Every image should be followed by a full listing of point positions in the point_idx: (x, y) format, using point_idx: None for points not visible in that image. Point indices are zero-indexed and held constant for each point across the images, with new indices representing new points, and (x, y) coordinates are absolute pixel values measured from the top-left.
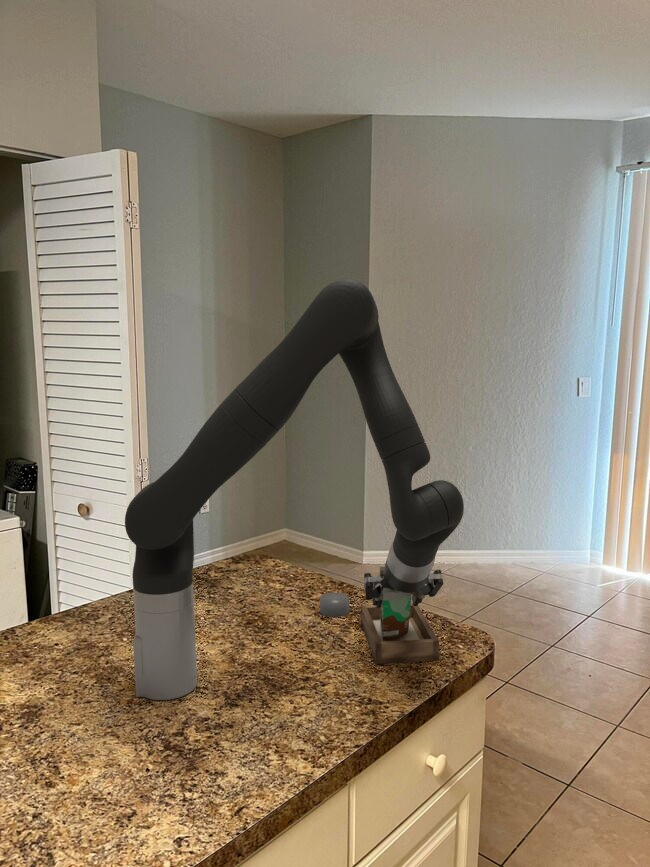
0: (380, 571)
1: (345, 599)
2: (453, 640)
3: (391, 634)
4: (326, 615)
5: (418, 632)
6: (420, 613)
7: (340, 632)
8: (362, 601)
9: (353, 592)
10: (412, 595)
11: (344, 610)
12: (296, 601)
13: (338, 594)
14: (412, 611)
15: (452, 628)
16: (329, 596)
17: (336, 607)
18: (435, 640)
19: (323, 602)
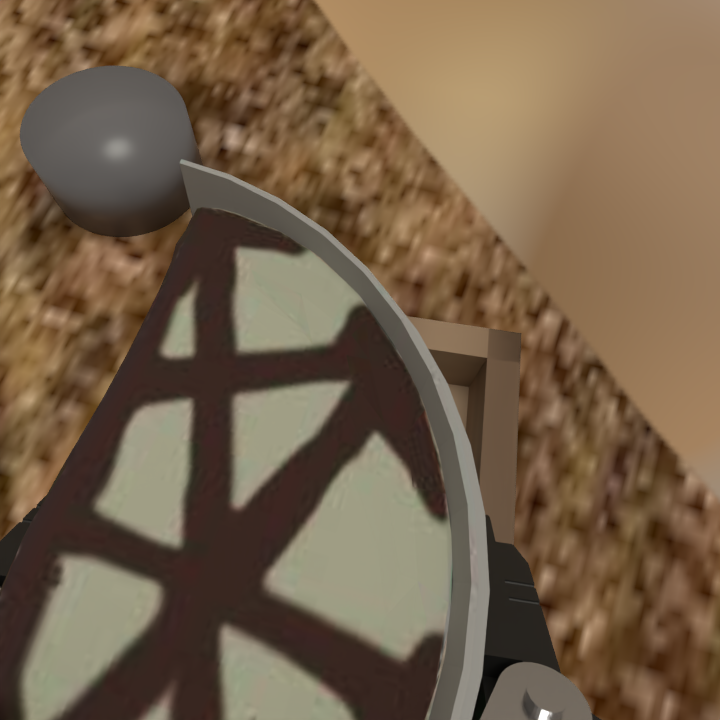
0: (196, 209)
1: (152, 155)
2: (631, 696)
3: None
4: (64, 212)
5: None
6: (500, 493)
7: (40, 406)
8: (301, 121)
9: (297, 37)
10: None
11: (146, 213)
12: (12, 50)
13: (145, 94)
14: (476, 372)
15: (662, 527)
16: (88, 103)
17: (88, 203)
18: None
19: (25, 153)
